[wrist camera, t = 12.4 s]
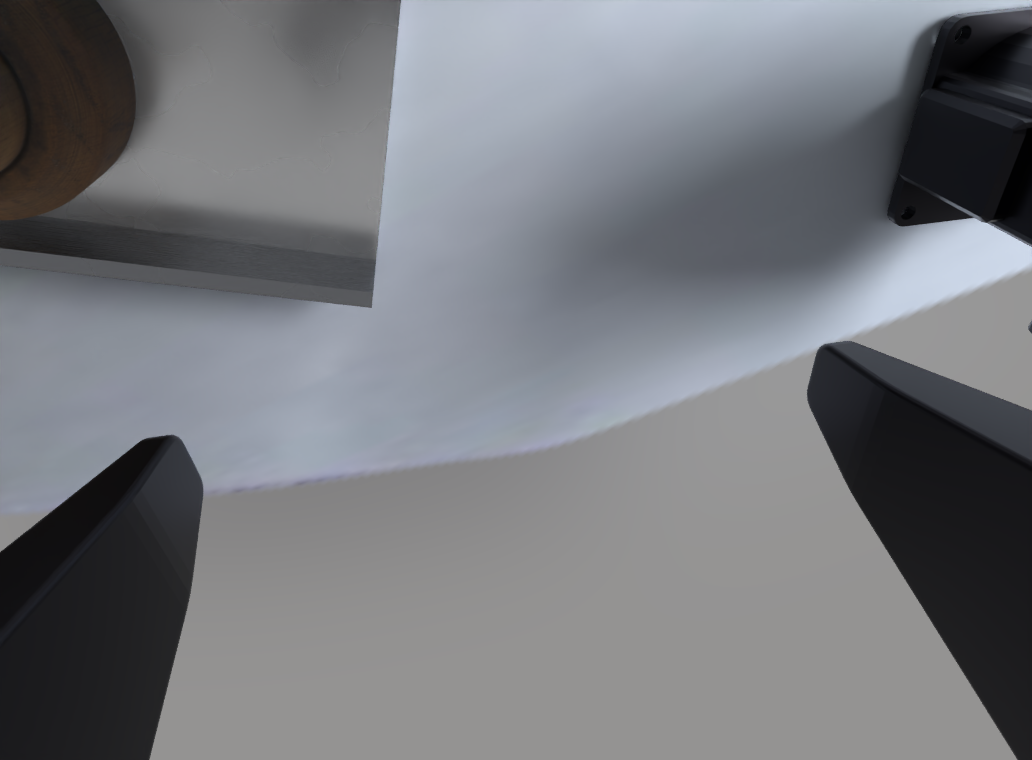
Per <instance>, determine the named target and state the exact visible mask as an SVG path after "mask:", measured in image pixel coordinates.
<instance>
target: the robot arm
mask: <svg viewBox="0 0 1032 760" xmlns="http://www.w3.org/2000/svg"><path fill="white" fill-rule="evenodd" d="M961 27H962V33H961V35H960V37H959V38H958V39H957V40H956V41H954V38H955V34H956V32H957V31H958V30H959V29H960V28H961ZM906 207H908V209H907V211H906V212H905V213H904V214H902V215H901V213H902V212H903V210H904V209H905V208H906ZM887 216H888V218H889V220H891V221H892V222H894V223H895V224H897V225H899V226H912V225H919V224H927V223H935V222H943V221H951V220H959V219H967V218H976V219H978V220H980V221H981V222H985V223H988V224H990V225H992V226H994V227H996V228H997V229H999V230H1001V231H1003V232H1005V233H1007V234H1009V235H1011V236H1012V237H1014V238H1016V239H1018V240H1020V241H1022V242H1024V243H1025V244H1027V245H1029V246H1031V247H1032V7H1025V8H1016V9H1006V10H996V11H986V12H976V13H967V14H958V15H955V16H953V17H951V18H950V19H948V20H947V21H946V22H945V23H944V25H943V26H942V27H941V29H940V31H939V34H938V37H937V40H936V44H935V47H934V51H933V54H932V58H931V61H930V65H929V68H928V72H927V75H926V79H925V82H924V86H923V89H922V93H921V96H920V99H919V102H918V106H917V109H916V113H915V116H914V120H913V123H912V127H911V130H910V134H909V137H908V141H907V144H906V148H905V151H904V155H903V158H902V162H901V165H900V169H899V173H898V176H897V180H896V183H895V187H894V190H893V194H892V197H891V201H890V204H889V208H888V214H887ZM1028 329H1029V331H1030V332H1031V333H1032V321H1031V323H1030V325H1029V326H1028ZM807 398H808V403H809V406H810V408H811V411H812V412H813V415H814V417H815V419H816V421H817V423H818V425H819V428H820V430H821V432H822V434H823V436H824V438H825V440H826V442H827V444H828V446H829V448H830V451H831V453H832V455H833V457H834V459H835V461H836V463H837V465H838V467H839V470H840V472H841V473H842V476H843V478H844V480H845V482H846V483H847V485H848V487H849V489H850V491H851V493H852V495H853V496H854V498H855V500H856V501H857V503H858V505H859V507H860V508H861V510H862V511H863V513H864V515H865V516H866V518H867V519H868V521H869V522H870V524H871V526H872V527H873V529H874V531H875V532H876V534H877V535H878V537H879V538H880V540H881V542H882V543H883V545H884V547H885V548H886V550H887V551H888V553H889V555H890V556H891V558H892V559H893V561H894V562H895V564H896V566H897V567H898V569H899V571H900V572H901V574H902V575H903V577H904V579H905V580H906V582H907V583H908V585H909V587H910V588H911V590H912V591H913V593H914V595H915V596H916V598H917V599H918V601H919V603H920V604H921V606H922V607H923V609H924V611H925V612H926V614H927V615H928V617H929V618H930V620H931V622H932V623H933V625H934V627H935V628H936V630H937V631H938V633H939V635H940V636H941V638H942V640H943V641H944V643H945V644H946V646H947V648H948V649H949V651H950V652H951V654H952V655H953V657H954V659H955V660H956V662H957V663H958V665H959V667H960V668H961V670H962V672H963V673H964V675H965V676H966V678H967V680H968V681H969V683H970V684H971V686H972V688H973V689H974V691H975V692H976V694H977V695H978V697H979V699H980V700H981V702H982V704H983V705H984V707H985V708H986V710H987V712H988V713H989V715H990V716H991V718H992V720H993V721H994V723H995V724H996V726H997V728H998V729H999V731H1000V732H1001V734H1002V736H1003V737H1004V739H1005V740H1006V742H1007V743H1008V745H1009V746H1010V748H1011V750H1012V752H1013V753H1014V755H1015V756H1016V758H1017V760H1032V411H1031V410H1029V409H1026V408H1024V407H1021V406H1018V405H1016V404H1013V403H1011V402H1008V401H1006V400H1003V399H1000V398H998V397H995V396H992V395H990V394H987V393H985V392H982V391H980V390H977V389H974V388H972V387H969V386H967V385H964V384H961V383H959V382H956V381H954V380H951V379H948V378H946V377H943V376H940V375H938V374H936V373H932V372H930V371H928V370H925V369H922V368H920V367H917V366H914V365H912V364H910V363H907V362H904V361H902V360H899V359H897V358H894V357H891V356H889V355H886V354H884V353H881V352H878V351H876V350H873V349H871V348H868V347H866V346H863V345H860V344H858V343H855V342H852V341H843V342H836V343H829V344H824V345H823V346H821V347H820V348H819V349H818V351H817V354H816V357H815V361H814V365H813V369H812V373H811V377H810V381H809V385H808V389H807ZM202 500H203V484H202V480H201V477H200V475H199V473H198V471H197V469H196V467H195V465H194V463H193V461H192V459H191V457H190V455H189V453H188V451H187V449H186V447H185V445H184V443H183V442H182V440H181V439H180V438H179V437H177V436H175V435H166V436H159V437H152V438H146V439H144V440H142V441H140V442H139V443H138V444H136V445H135V446H134V447H133V448H131V449H130V450H129V451H128V452H126V453H125V454H124V455H122V456H121V457H120V458H119V459H117V460H116V461H115V462H114V463H112V464H111V465H110V466H109V467H107V468H106V469H105V470H103V471H102V472H101V473H100V474H98V475H97V476H96V477H95V478H93V479H92V480H91V481H90V482H88V483H87V484H86V485H85V486H83V487H82V488H81V489H79V490H78V491H77V492H76V493H74V494H73V495H72V496H71V497H69V498H68V499H67V500H66V501H64V502H63V503H62V504H60V505H59V506H58V507H57V508H55V509H54V510H53V511H52V512H50V513H49V514H48V515H47V516H45V517H44V518H43V519H42V520H40V521H39V522H38V523H36V524H35V525H34V526H33V527H32V528H31V529H29V530H28V531H26V532H25V533H24V534H23V535H21V536H20V537H19V538H18V539H16V540H15V541H14V542H13V543H11V544H10V545H9V546H7V547H6V548H5V549H4V550H2V551H1V552H0V760H149V759H150V755H151V751H152V747H153V743H154V739H155V735H156V731H157V727H158V722H159V719H160V715H161V711H162V707H163V703H164V699H165V695H166V691H167V687H168V683H169V679H170V674H171V671H172V667H173V663H174V659H175V655H176V651H177V647H178V643H179V639H180V635H181V631H182V627H183V623H184V619H185V615H186V611H187V606H188V602H189V598H190V593H191V586H192V580H193V572H194V564H195V556H196V548H197V541H198V532H199V524H200V516H201V508H202Z"/></svg>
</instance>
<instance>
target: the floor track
mask: <svg viewBox="0 0 1032 760" xmlns="http://www.w3.org/2000/svg"><path fill="white" fill-rule="evenodd" d="M96 1H97V2H98V3H99V4H100V6H101V7H102V9H103V10H104V11H105V13H106V14H107V16H108V17H109V19H110V21H111V22H112V24H113V26H114V28H115V29H116V31H117V33H118V35H119V37H120V39H121V41H122V44H123V46H124V48H125V51H126V53H127V56H128V59H129V62H130V66H131V69H132V74H133V79H134V86H135V94H136V108H135V120H134V125H133V129H132V132H131V135H130V138H129V140H128V143H127V145H126V147H125V149H124V150H123V152H122V154H121V155H120V157H119V158H118V159H117V161H116V162H115V163H114V164H113V165H112V166H111V167H110V168H109V169H108V170H107V171H106V172H105V173H104V174H103V175H102V176H101V177H100V178H98V179H97V180H96V181H95V182H94V183H92V184H91V185H90V186H89V187H87V188H86V189H85V190H84V191H83V192H81V193H80V194H79V195H78V196H76V197H75V198H74V199H72V200H71V201H69V202H68V203H66V204H64V205H62V206H60V207H58V208H56V209H54V210H52V211H49V212H47V213H44V214H41V215H37V216H33V217H29V218H24V219H16V220H0V265H2V266H11V267H20V268H29V269H37V270H46V271H55V272H64V273H72V274H81V275H90V276H98V277H107V278H116V279H125V280H133V281H142V282H151V283H160V284H168V285H177V286H186V287H195V288H203V289H212V290H221V291H229V292H238V293H247V294H256V295H264V296H273V297H282V298H291V299H299V300H308V301H317V302H326V303H334V304H343V305H352V306H361V307H369V308H372V297H373V287H374V275H375V264H376V253H377V243H378V232H379V222H380V211H381V201H382V190H383V180H384V170H385V159H386V149H387V138H388V128H389V117H390V107H391V97H392V86H393V76H394V65H395V55H396V44H397V34H398V24H399V13H400V3H401V0H96Z"/></svg>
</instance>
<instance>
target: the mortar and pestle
mask: <svg viewBox="0 0 1032 760" xmlns="http://www.w3.org/2000/svg"><path fill="white" fill-rule="evenodd" d="M135 108H136V94H135V86H134V79H133V74H132V69H131V66H130V62H129V59H128V56H127V53H126V51H125V48H124V46H123V44H122V41H121V39H120V37H119V35H118V33H117V31H116V29H115V28H114V26H113V24H112V22H111V21H110V19H109V17H108V16H107V14H106V13H105V11H104V10H103V9H102V7H101V6H100V4H99V3H98V2H97V1H96V0H0V220H16V219H24V218H29V217H33V216H37V215H41V214H44V213H47V212H49V211H52V210H54V209H56V208H58V207H60V206H62V205H64V204H66V203H68V202H69V201H71V200H72V199H74V198H75V197H76V196H78V195H79V194H80V193H81V192H83V191H84V190H85V189H86V188H87V187H89V186H90V185H91V184H92V183H94V182H95V181H96V180H97V179H98V178H100V177H101V176H102V175H103V174H104V173H105V172H106V171H107V170H108V169H109V168H110V167H111V166H112V165H113V164H114V163H115V162H116V161H117V159H118V158H119V157H120V155H121V154H122V152H123V150H124V149H125V147H126V145H127V143H128V140H129V138H130V135H131V132H132V129H133V125H134V120H135Z"/></svg>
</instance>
